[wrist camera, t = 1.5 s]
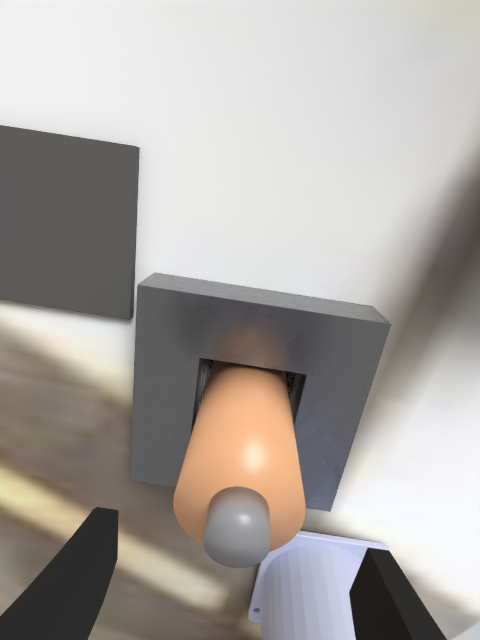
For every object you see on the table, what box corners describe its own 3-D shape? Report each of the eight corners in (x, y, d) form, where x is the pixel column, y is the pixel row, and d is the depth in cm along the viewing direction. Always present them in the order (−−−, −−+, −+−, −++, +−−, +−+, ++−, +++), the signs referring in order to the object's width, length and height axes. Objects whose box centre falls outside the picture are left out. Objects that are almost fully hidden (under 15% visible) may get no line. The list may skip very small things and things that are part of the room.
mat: (133, 316, 18) (129, 319, 17) (-18, 292, 18) (-26, 295, 17) (139, 147, 15) (135, 146, 14) (-40, 120, 15) (-50, 117, 14)
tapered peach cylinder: (278, 422, 19) (294, 602, 11) (203, 411, 19) (159, 582, 11) (293, 355, 18) (327, 501, 9) (212, 342, 18) (169, 476, 9)
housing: (322, 475, 20) (330, 511, 18) (144, 448, 20) (129, 480, 18) (372, 306, 17) (391, 323, 14) (154, 272, 17) (137, 284, 14)
